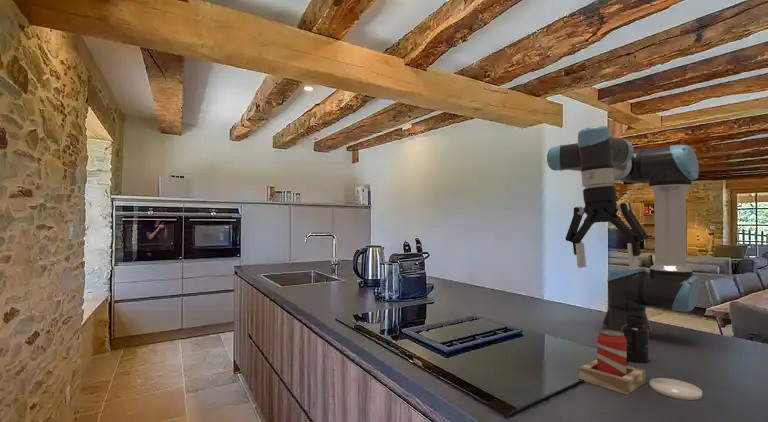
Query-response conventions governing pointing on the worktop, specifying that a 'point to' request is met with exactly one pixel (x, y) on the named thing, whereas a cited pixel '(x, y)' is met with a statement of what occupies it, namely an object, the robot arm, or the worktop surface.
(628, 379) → the oak holder
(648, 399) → the worktop surface
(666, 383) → the coaster
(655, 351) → the worktop surface
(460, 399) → the worktop surface
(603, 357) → the beverage can
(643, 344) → the supplement bottle
